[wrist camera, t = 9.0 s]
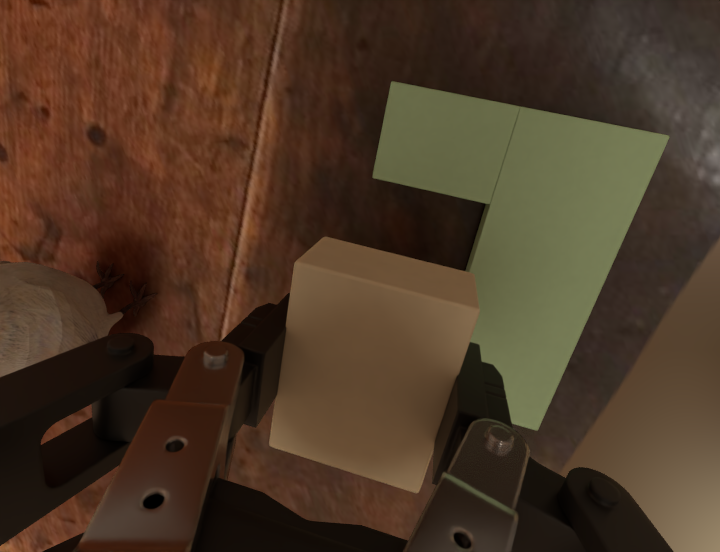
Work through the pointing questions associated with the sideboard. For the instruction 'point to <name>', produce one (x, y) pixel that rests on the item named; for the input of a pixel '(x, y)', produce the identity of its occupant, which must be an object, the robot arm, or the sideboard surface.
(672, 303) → the sideboard surface
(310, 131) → the sideboard surface
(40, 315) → the bird
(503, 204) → the green c-shaped block
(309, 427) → the cream pad
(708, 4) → the sideboard surface
